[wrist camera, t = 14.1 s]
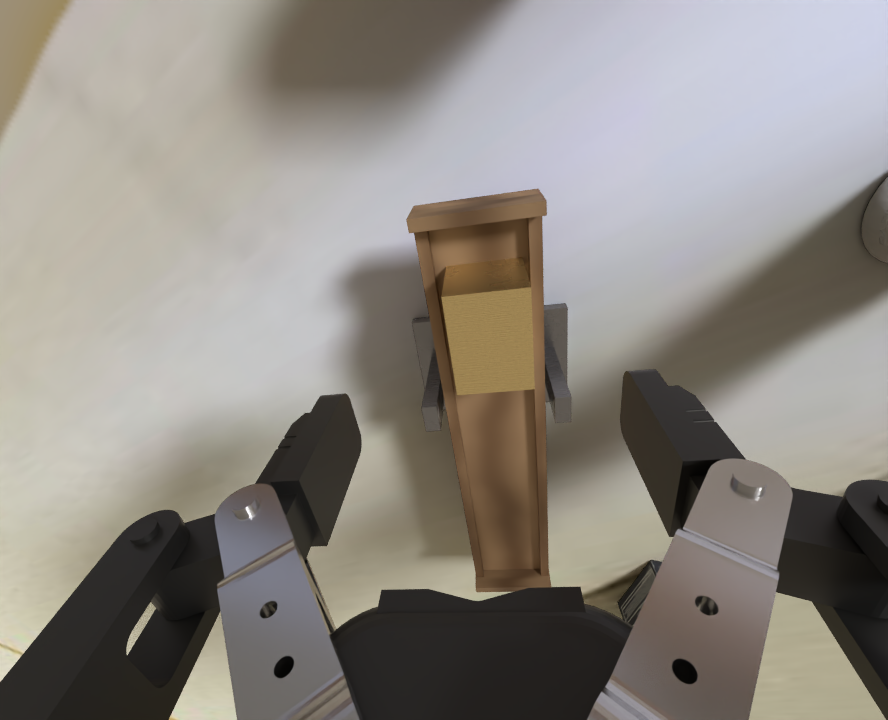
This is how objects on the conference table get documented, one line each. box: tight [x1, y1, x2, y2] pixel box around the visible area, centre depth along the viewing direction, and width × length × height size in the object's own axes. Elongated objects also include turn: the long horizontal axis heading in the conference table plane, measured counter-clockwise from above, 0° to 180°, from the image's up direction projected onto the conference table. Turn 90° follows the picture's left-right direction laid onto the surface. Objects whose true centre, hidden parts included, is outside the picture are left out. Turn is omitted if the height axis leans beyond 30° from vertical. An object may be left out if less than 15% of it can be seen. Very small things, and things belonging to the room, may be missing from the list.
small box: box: [618, 560, 662, 626], centre depth 52 cm, size 11×6×10 cm, turn 168°
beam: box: [406, 189, 551, 592], centre depth 36 cm, size 8×40×4 cm, turn 8°
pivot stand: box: [412, 303, 571, 431], centre depth 37 cm, size 14×10×9 cm
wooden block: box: [441, 257, 535, 395], centre depth 27 cm, size 5×5×7 cm
